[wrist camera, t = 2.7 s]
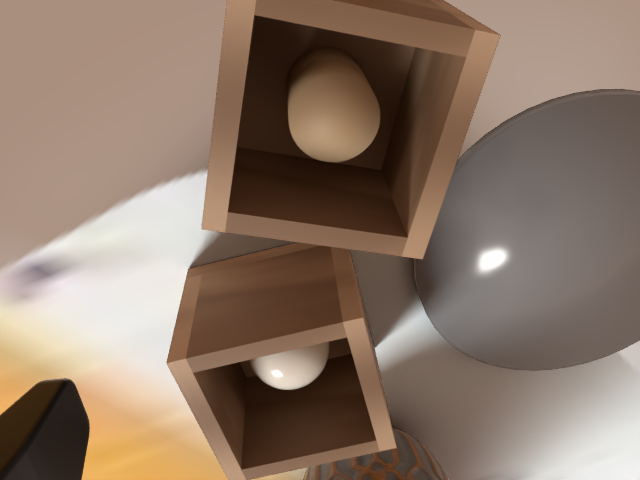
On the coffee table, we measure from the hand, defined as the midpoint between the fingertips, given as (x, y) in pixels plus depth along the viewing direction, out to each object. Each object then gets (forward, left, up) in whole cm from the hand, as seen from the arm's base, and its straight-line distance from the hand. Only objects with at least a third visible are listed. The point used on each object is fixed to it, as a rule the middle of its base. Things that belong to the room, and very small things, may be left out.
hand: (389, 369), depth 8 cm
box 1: (+1, 0, -12) cm, 12 cm away
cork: (+1, 0, -11) cm, 11 cm away
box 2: (-8, +2, -12) cm, 14 cm away
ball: (-8, +2, -11) cm, 14 cm away
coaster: (-6, -9, -12) cm, 16 cm away
